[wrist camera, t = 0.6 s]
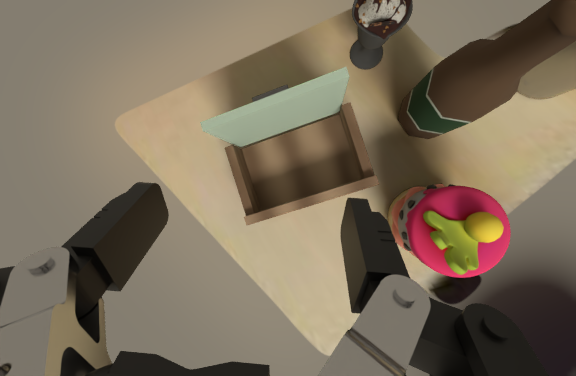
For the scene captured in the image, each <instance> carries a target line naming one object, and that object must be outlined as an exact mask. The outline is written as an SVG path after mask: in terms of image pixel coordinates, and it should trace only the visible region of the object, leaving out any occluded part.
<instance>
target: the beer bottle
mask: <svg viewBox="0 0 576 376" xmlns="http://www.w3.org/2000/svg"><path fill="white" fill-rule="evenodd" d="M575 41H576V0H551V1H549V2H548V3H547V4H545V5H544V6H543V7H541V8H540V9H538V10H537V11H536V12H534V13H533V14H531V15H530V16H528V17H527V18H526V19H524V20H523V21H522V22H520V23H519V24H517V25H516V26H515V27H513V28H512V29H510V30H509V31H508V32H506V33H505V34H503V35H502V36H501V37H499V38H497V39H495V40H487V39H479V40H476V41H473V42H470V43H468V44H467V45H465V46H464V47H462V48H461V49H459V50H458V51H456V52H455V53H453V54H452V55H450V56H448V57H447V58H445V59H444V60H442V61H441V62H440V63H439V64H438V65H436V66H435V67H434V68H433V69H432V70H431V71H430V72H429V73H428V74H427V75H426V76H425V77H424V78H423V79H422V80H421V81H420V82H419V83H418V84H417V85H416V86H415V87H414V88H413V89H412V90H411V91H410V92H409V94H408V95H407V96H406V97H405V98H404V99H403V101H402V105H401V109H400V113H399V117H398V120H399V122H400V123H401V125H402V126H403V128H404V129H405V131H406V132H407V134H408V135H410V136H415V137H420V138H426V139H430V138H434V137H436V136H439V135H441V134H444V133H446V132H449V131H451V130H454V129H456V128H459V127H461V126H463V125H466V124H468V123H471V122H473V121H475V120H477V119H478V118H480V117H482V116H484V115H485V114H487V113H489V112H490V111H492V110H494V109H495V108H497V107H499V106H500V105H502V104H504V103H505V102H507V101H508V100H510V99H511V98H512V96H513V95H514V94H515V93H516V92H517V90H518V86H519V83H520V79H521V77H522V76H524V75H525V74H526V73H527V72H529V71H530V70H531V69H532V68H534V67H535V66H537V65H538V64H540V63H542V62H543V61H545V60H547V59H548V58H550V57H551V56H553V55H555V54H556V53H558V52H559V51H561V50H563V49H564V48H566V47H567V46H569V45H571V44H572V43H574V42H575Z"/></svg>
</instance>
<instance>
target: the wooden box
mask: <svg viewBox="0 0 576 376" xmlns="http://www.w3.org/2000/svg"><path fill="white" fill-rule="evenodd" d="M225 150H226V154H227V157H228V160H229V163H230V166H231V169H232V173H233V176H234V179H235V182H236V185H237V188H238V192H239V195H240V198H241V201H242V204H243V207H244V210H245V214H246V216H245V217H244V219H245V222H246V225H250V224H253V223H256V222H260V221H263V220H266V219H269V218H273V217H276V216H279V215H282V214H285V213H289V212H292V211H295V210H298V209H301V208H305V207H308V206H311V205H314V204H318V203H321V202H324V201H327V200H330V199H334V198H337V197H340V196H343V195H347V194H350V193H353V192H356V191H359V190H363V189H366V188H369V187H372V186H376V185H379V182H378V179H377V176H376V175H374V172H373V169H372V166H371V163H370V160H369V157H368V154H367V151H366V148H365V145H364V142H363V139H362V136H361V133H360V130H359V127H358V124H357V121H356V118H355V115H354V112H353V109H352V106H351V103H347V104H344V105H342V106H341V109H340V113H339V114H338V115H335V116H333V117H330V118H327V119H324V120H321V121H319V122H316V123H313V124H310V125H307V126H305V127H302V128H299V129H296V130H293V131H291V132H288V133H285V134H282V135H279V136H277V137H274V138H271V139H268V140H265V141H263V142H260V143H257V144H254V145H251V146H249V147H246V148H243V149H241V148H238V147H236V146H234V145H231V146H228V147H225Z"/></svg>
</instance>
